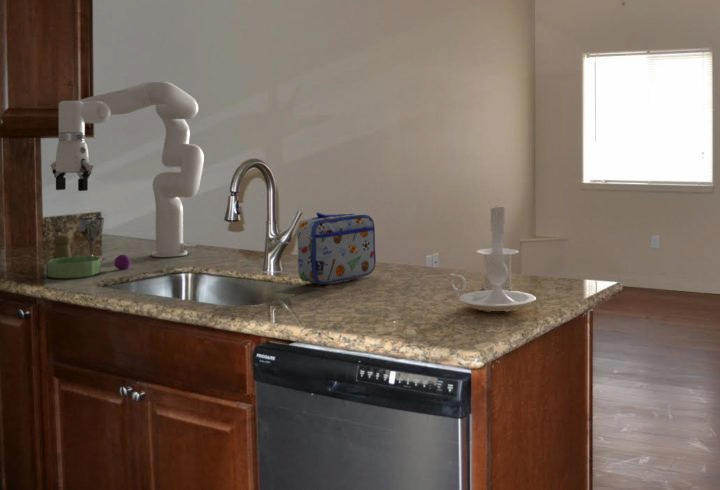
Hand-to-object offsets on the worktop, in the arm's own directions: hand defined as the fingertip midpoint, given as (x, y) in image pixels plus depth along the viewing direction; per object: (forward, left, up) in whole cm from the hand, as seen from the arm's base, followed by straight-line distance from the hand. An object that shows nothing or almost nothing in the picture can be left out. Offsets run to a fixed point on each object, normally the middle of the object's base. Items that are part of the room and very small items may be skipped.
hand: (71, 190), depth 261 cm
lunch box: (-77, +47, -28) cm, 94 cm away
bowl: (-1, +5, -27) cm, 28 cm away
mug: (-118, +79, -28) cm, 145 cm away
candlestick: (-107, +102, -28) cm, 150 cm away
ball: (-15, -1, -25) cm, 29 cm away
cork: (+4, -14, -28) cm, 31 cm away
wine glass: (-4, -28, -28) cm, 39 cm away
